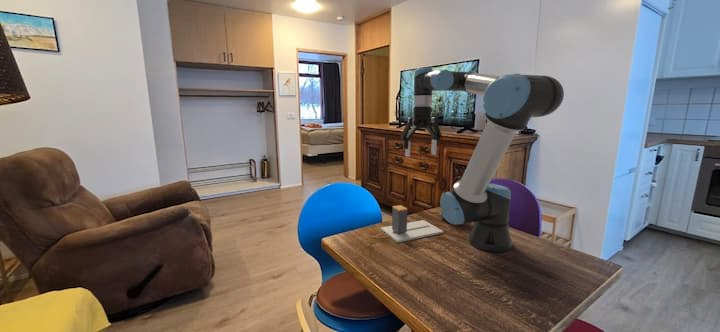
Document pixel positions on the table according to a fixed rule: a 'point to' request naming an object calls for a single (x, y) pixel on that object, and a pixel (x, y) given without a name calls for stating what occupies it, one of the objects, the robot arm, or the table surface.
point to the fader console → (413, 231)
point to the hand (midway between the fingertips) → (420, 155)
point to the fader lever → (399, 219)
